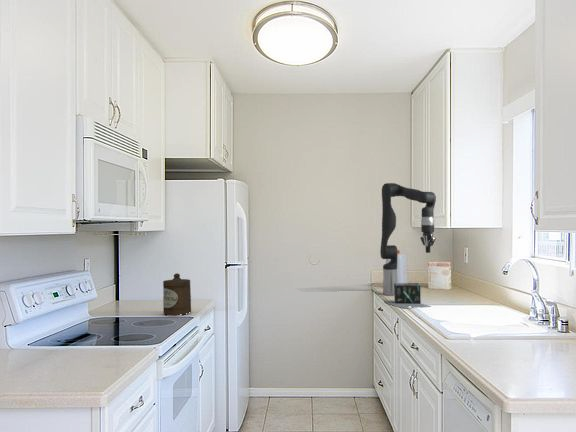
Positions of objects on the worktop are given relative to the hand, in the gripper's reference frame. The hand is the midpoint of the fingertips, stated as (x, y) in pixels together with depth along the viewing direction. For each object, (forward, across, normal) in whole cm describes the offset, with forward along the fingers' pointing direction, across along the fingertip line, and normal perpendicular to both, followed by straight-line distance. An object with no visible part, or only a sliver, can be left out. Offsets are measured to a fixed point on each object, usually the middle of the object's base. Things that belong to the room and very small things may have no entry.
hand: (428, 252), depth 282 cm
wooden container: (+30, -18, -148) cm, 152 cm away
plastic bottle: (+31, -63, +15) cm, 71 cm away
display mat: (+30, +4, -18) cm, 35 cm away
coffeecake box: (+31, -46, +41) cm, 69 cm away
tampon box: (+24, +2, -8) cm, 25 cm away
